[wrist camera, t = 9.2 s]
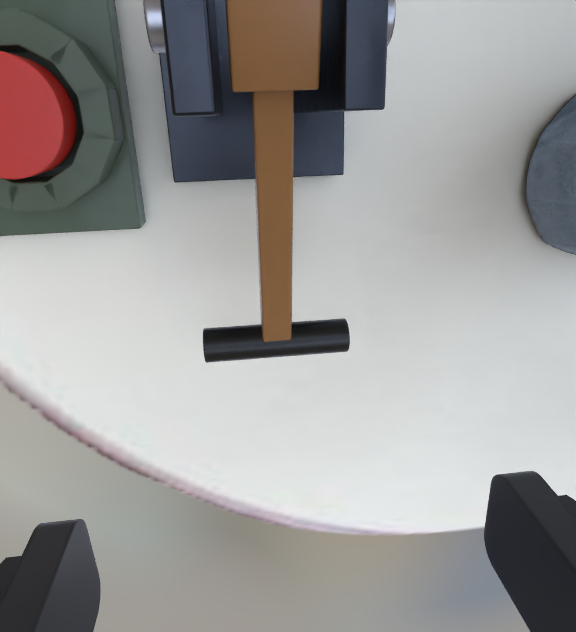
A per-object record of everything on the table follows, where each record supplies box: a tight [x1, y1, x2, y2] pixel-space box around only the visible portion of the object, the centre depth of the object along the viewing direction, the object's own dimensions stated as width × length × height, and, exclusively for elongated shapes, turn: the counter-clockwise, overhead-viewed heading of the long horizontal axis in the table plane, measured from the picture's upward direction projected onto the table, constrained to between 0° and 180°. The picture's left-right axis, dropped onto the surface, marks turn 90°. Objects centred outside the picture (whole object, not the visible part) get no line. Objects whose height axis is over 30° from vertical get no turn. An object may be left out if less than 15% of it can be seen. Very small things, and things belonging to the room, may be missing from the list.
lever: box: [203, 0, 350, 362], centre depth 16 cm, size 13×6×2 cm, turn 3°
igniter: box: [0, 0, 145, 236], centre depth 21 cm, size 10×8×4 cm
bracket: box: [143, 0, 396, 182], centre depth 17 cm, size 10×8×13 cm
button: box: [0, 51, 77, 179], centre depth 19 cm, size 4×4×2 cm
